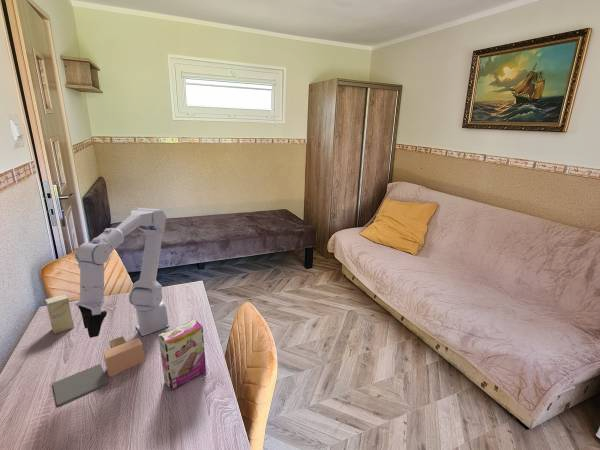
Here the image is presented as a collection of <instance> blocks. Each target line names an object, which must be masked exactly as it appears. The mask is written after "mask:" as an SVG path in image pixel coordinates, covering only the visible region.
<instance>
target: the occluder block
mask: <svg viewBox="0 0 600 450" xmlns="http://www.w3.org/2000/svg"><path fill="white" fill-rule="evenodd" d="M144 351H145V350H144V345H143V342H142V341H141V339H140V338H139V337H136V338H134V339H132V340H128V341H126V343H123V344H121V345H118V346H116V347H113V348H109V349H108V348H107V349H106V350H103V352H102V353H103V358H104V363H105V367H106V368H105V369H106V371H107V373H108V376H109V377H111V376H114V375H116V374H118V373H120V372H124V371H125V370H126V371H127V369H130V368H132V367H134V366H137V365H139V364H141V363H143V362H145V361H146V358H145V352H144Z"/></svg>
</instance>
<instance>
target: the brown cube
mask: <svg viewBox="0 0 600 450" xmlns="http://www.w3.org/2000/svg"><path fill="white" fill-rule="evenodd" d="M126 342H127V341H126V340H125V337H124V336H123V335H122V336H120V337H117V338H113V339H110V340H109V347H110V348H109V349H111V348H113V347H116V346H118V345H121V344H123V343H126Z"/></svg>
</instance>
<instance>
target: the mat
mask: <svg viewBox="0 0 600 450" xmlns="http://www.w3.org/2000/svg"><path fill="white" fill-rule="evenodd" d="M107 385H109V381H108V378H107V377H106V374H105V371H104V369H103V367H102V364H101V363H99V364H96V365H93V366H91V367H89V368H87V369H84V370H81V371H79V372H77V373H74V374H71V375H69V376H67V377H63V378H62V379H59V380H57V381H54V382H52V386H53V391H54V397H55V401H56V407H60V406H62V405H64V404H66V403H68V402H71V401H73V400H75V399H78V398H80V397H82V396H84V395H86V394H89V393H92V392H93V391H95V390H98V389H101V388H102V387H105V386H107Z"/></svg>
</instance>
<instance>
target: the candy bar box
mask: <svg viewBox="0 0 600 450" xmlns="http://www.w3.org/2000/svg"><path fill="white" fill-rule="evenodd" d="M203 327H204V326H203V325H202V324H201V323H199V322H198V321H197V320H196V319H193V320H191V321H188V322H186V323H184V324H182V325H181V324H180V325H179V326H177V327H173V328H171V329H169V330H166V331H164V332H162V333H159V334H158V341H159V343H158V344H159V348H160V349H159V351H160V357H161V365H162V367H161V368H162V373H163V380H164V383H165V384H166V386H167V387H168V388H169V390H170V392H171V391H174V390H175V389H177V388H179V387H180V386H183V385H184V384H185V383H188V382H190V381H191V380H193V379H195V378H197V377H198V376H200V375H202V374H204V373H206V372H207V368H206V367H207V365H206V355H205V341H204V340H205V339H204V328H203Z"/></svg>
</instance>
